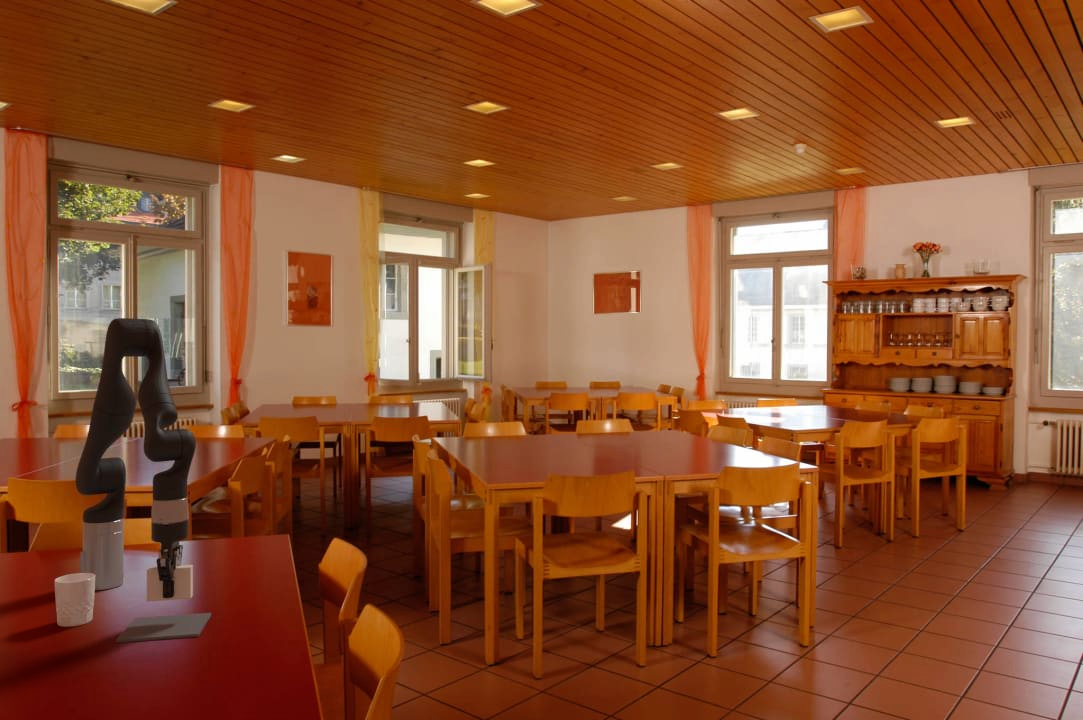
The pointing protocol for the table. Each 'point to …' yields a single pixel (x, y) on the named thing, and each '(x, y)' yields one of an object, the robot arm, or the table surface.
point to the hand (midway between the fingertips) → (170, 595)
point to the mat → (164, 627)
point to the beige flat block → (181, 584)
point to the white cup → (74, 599)
